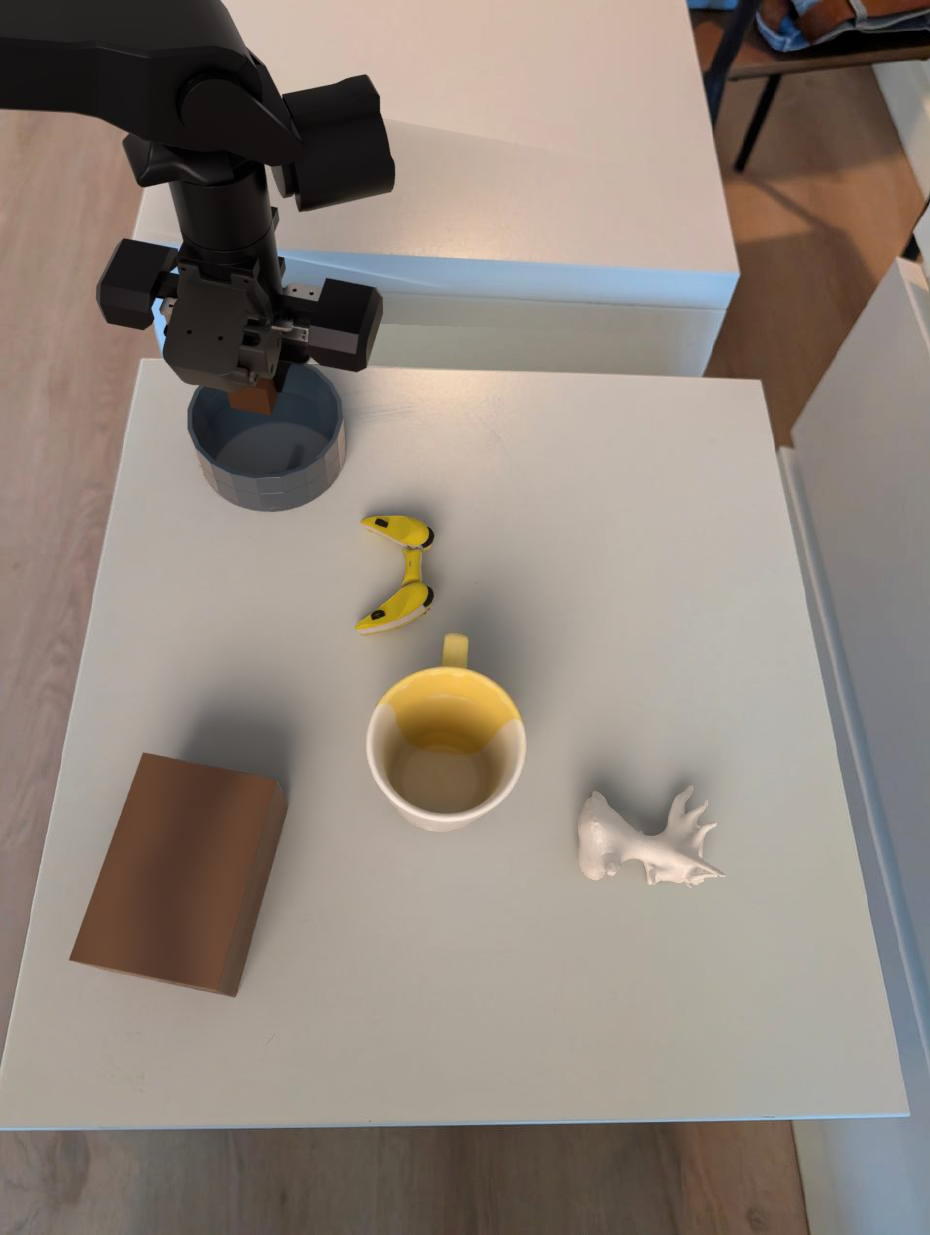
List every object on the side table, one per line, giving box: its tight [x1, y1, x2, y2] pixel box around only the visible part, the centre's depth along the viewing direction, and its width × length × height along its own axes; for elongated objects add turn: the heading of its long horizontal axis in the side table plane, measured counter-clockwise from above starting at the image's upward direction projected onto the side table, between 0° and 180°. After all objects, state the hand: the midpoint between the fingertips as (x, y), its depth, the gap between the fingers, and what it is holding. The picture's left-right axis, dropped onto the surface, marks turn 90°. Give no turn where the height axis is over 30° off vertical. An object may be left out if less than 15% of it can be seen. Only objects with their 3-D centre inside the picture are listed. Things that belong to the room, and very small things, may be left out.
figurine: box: [577, 784, 727, 889], centre depth 64 cm, size 10×8×10 cm
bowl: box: [186, 362, 347, 513], centre depth 76 cm, size 12×12×5 cm
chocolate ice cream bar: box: [227, 378, 279, 415], centre depth 71 cm, size 3×9×3 cm, turn 170°
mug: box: [365, 632, 528, 833], centre depth 63 cm, size 14×10×10 cm
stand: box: [68, 752, 289, 998], centre depth 60 cm, size 9×13×7 cm
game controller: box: [354, 515, 436, 636], centre depth 73 cm, size 10×6×4 cm, turn 0°
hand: (258, 383), depth 71 cm, fingers closed on chocolate ice cream bar, 3 cm apart
